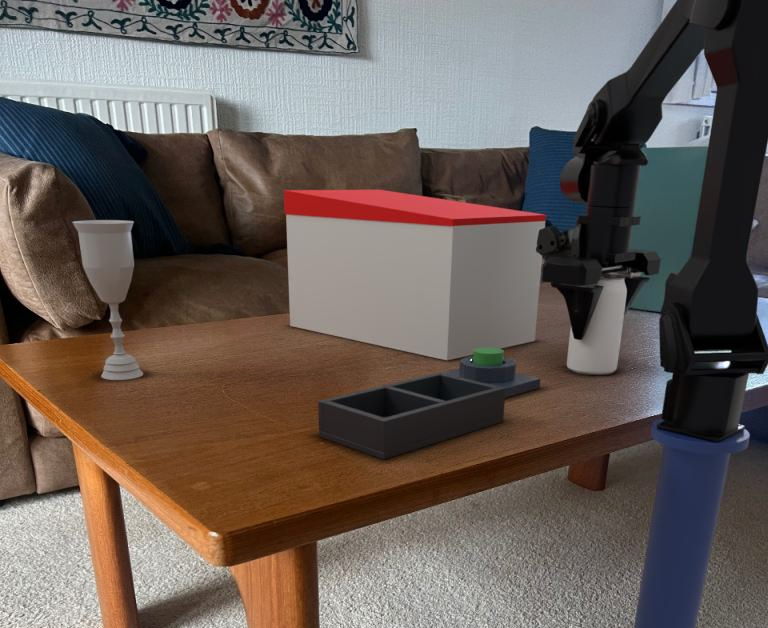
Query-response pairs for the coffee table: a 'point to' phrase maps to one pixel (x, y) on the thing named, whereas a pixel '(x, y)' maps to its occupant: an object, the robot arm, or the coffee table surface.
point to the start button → (488, 356)
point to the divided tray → (410, 414)
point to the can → (601, 331)
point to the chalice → (110, 281)
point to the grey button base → (497, 376)
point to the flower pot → (667, 214)
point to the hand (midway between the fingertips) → (594, 335)
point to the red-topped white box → (412, 270)
